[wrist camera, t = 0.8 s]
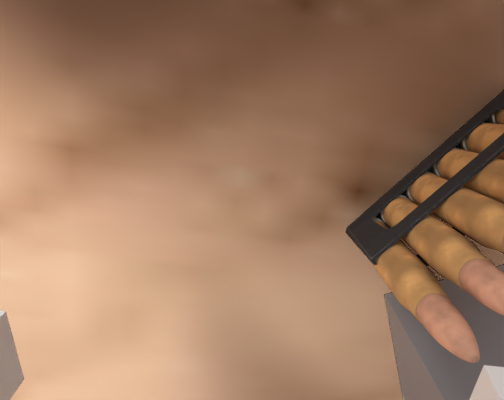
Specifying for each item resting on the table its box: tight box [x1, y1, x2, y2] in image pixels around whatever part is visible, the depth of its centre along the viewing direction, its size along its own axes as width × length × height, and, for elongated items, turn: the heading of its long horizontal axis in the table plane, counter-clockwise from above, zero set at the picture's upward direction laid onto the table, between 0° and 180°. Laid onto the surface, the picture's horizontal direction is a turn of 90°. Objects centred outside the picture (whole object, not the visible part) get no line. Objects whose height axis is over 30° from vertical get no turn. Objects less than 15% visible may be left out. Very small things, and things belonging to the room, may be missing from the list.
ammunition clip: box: [346, 91, 504, 363], centre depth 16 cm, size 11×2×12 cm, turn 134°
